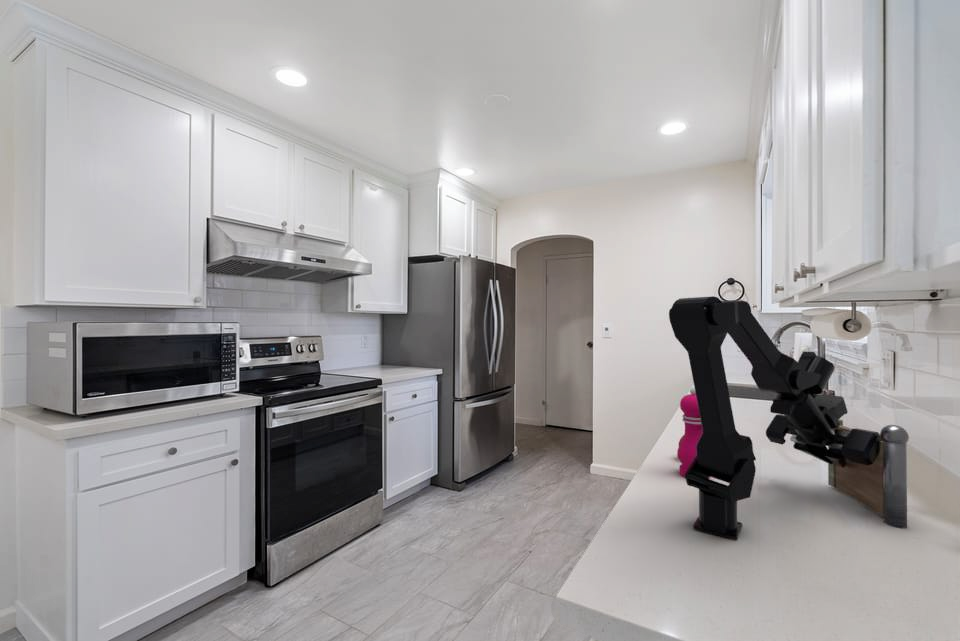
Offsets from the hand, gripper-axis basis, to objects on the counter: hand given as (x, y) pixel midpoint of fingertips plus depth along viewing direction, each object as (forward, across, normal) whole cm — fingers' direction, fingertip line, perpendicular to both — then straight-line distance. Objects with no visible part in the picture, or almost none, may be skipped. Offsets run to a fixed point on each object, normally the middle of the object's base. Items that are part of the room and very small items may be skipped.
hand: (838, 464), depth 90 cm
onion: (-2, +28, +11) cm, 30 cm away
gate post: (0, -12, +8) cm, 14 cm away
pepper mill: (-7, +20, +17) cm, 27 cm away
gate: (+4, -4, +4) cm, 7 cm away
